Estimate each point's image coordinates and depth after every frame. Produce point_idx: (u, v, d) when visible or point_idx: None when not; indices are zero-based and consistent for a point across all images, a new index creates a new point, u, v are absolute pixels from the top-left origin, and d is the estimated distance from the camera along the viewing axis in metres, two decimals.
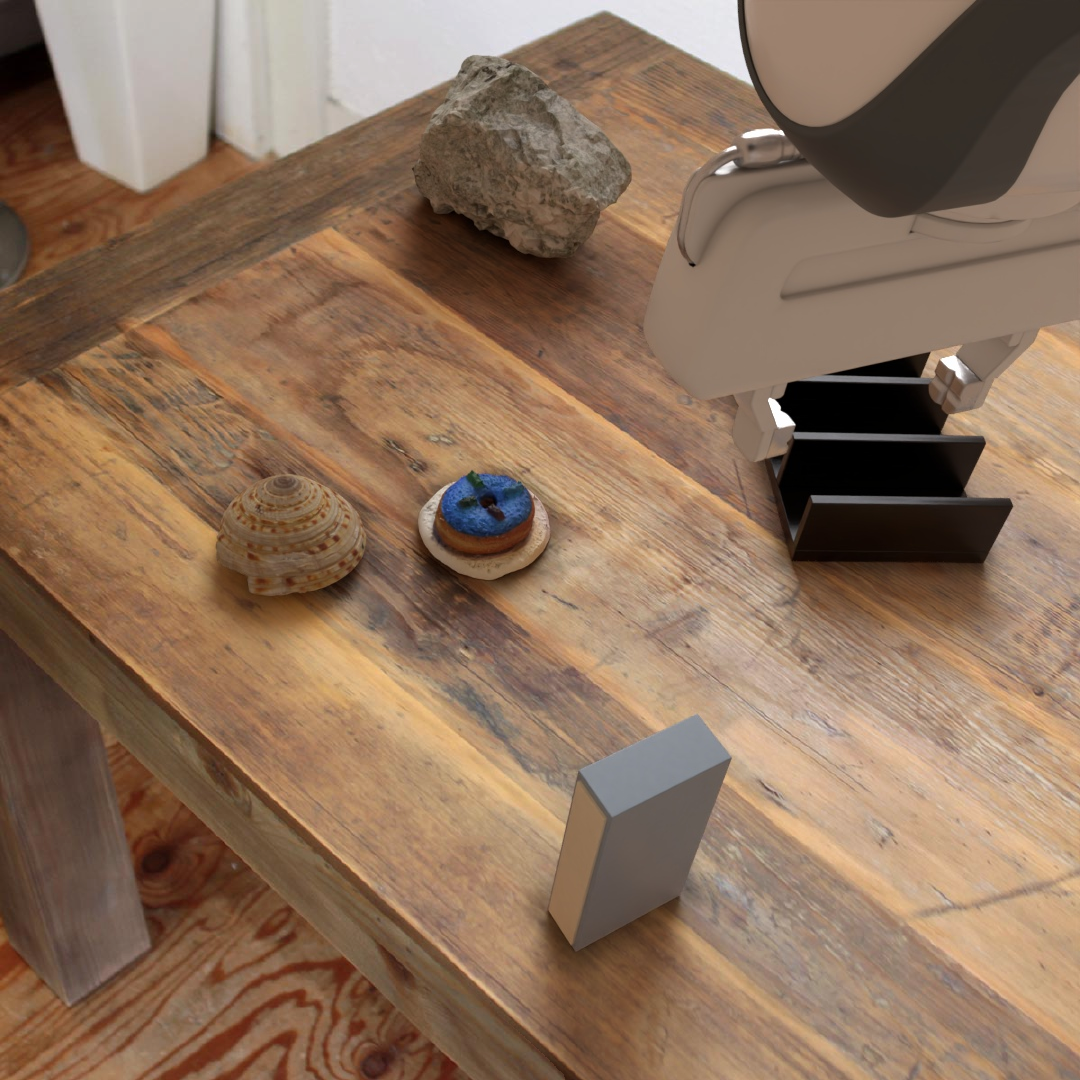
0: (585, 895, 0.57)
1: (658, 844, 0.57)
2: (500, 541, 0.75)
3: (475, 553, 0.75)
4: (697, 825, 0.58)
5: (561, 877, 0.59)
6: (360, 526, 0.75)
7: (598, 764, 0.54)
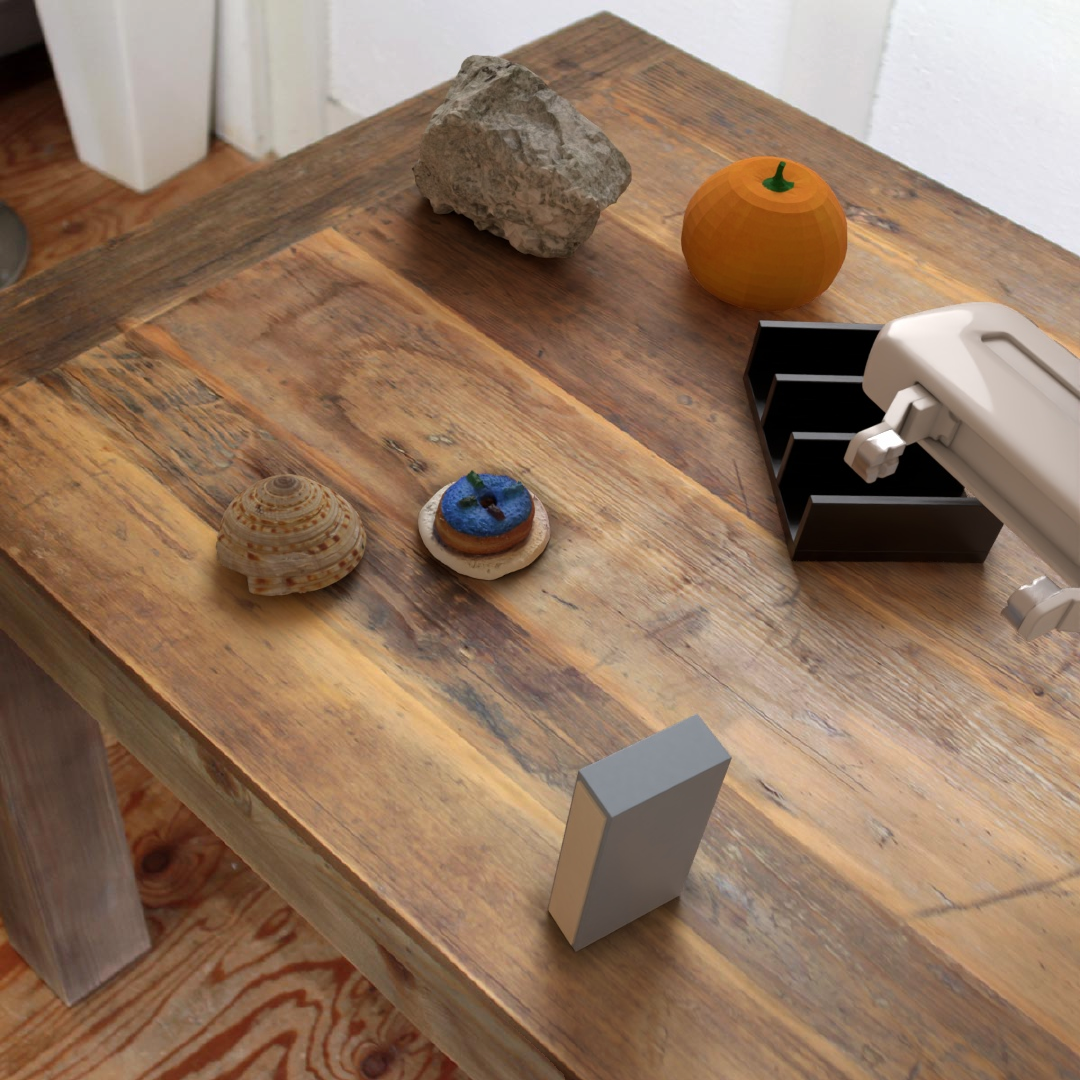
0: (585, 895, 0.57)
1: (658, 844, 0.57)
2: (500, 541, 0.75)
3: (475, 553, 0.75)
4: (697, 825, 0.58)
5: (561, 877, 0.59)
6: (360, 526, 0.75)
7: (598, 764, 0.54)
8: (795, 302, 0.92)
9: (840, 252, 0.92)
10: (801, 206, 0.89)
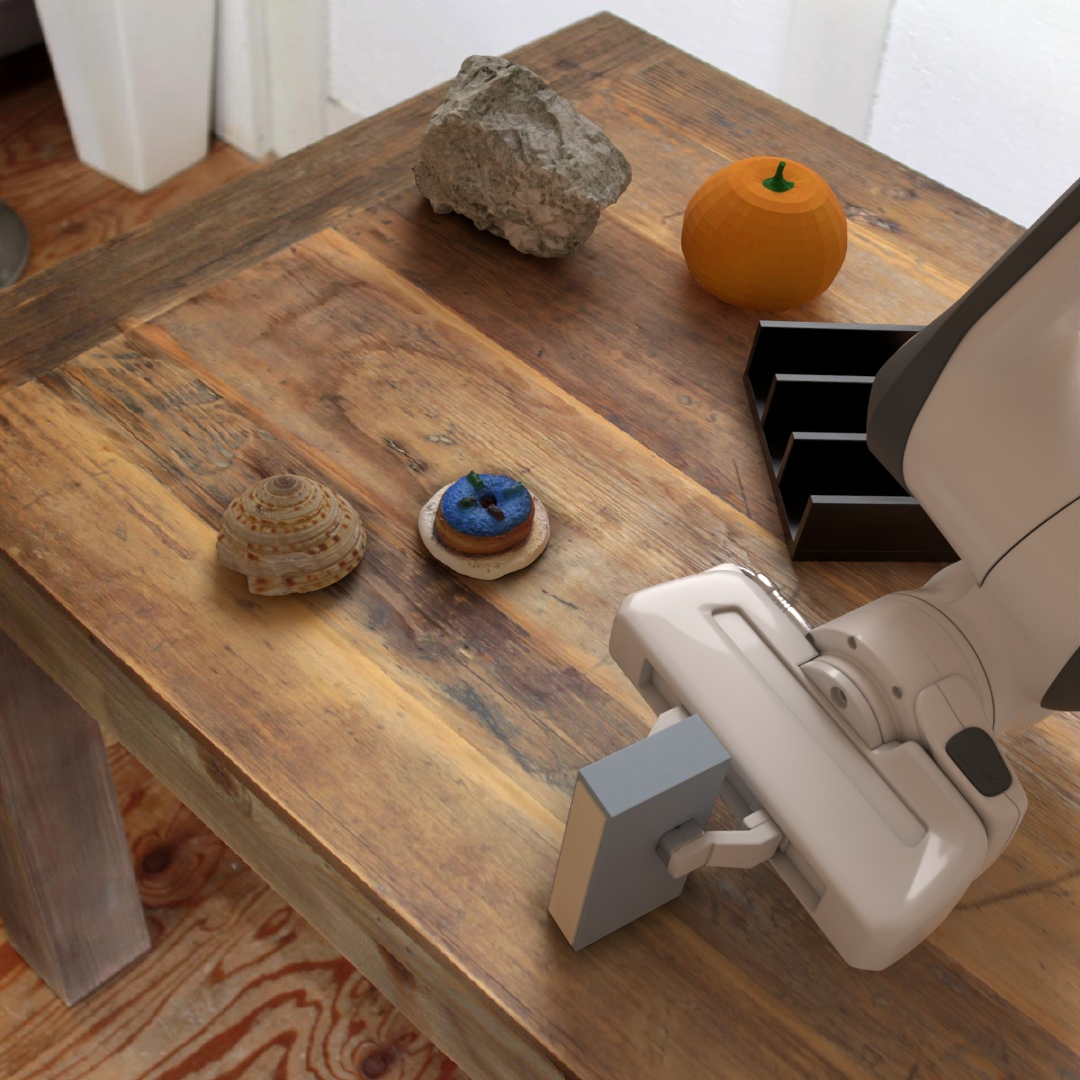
0: (585, 895, 0.57)
1: None
2: (500, 541, 0.75)
3: (475, 553, 0.75)
4: None
5: (561, 877, 0.59)
6: (360, 526, 0.75)
7: (598, 764, 0.54)
8: (795, 302, 0.92)
9: (840, 252, 0.92)
10: (801, 206, 0.89)
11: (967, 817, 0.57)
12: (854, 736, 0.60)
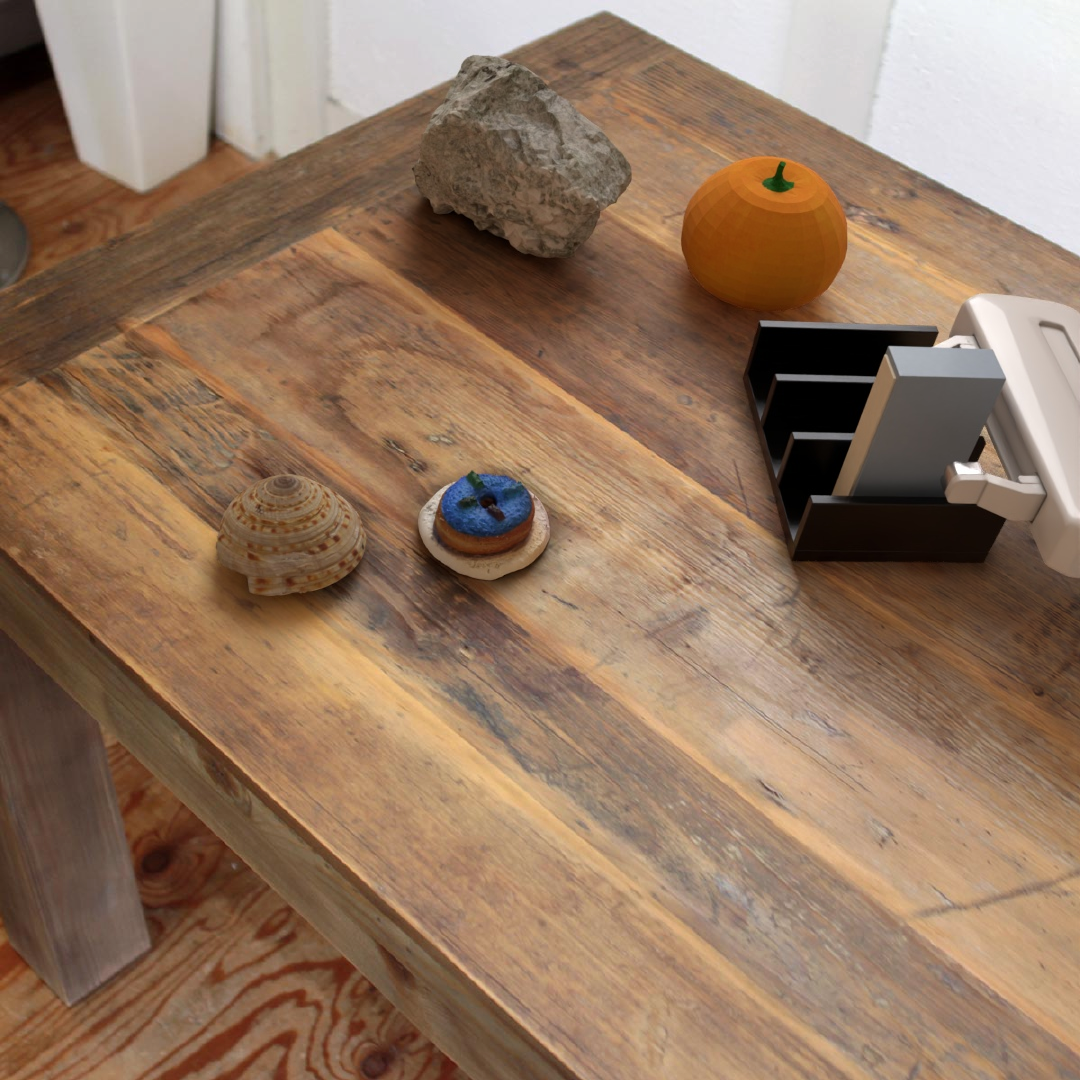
0: (861, 463, 0.76)
1: (929, 443, 0.75)
2: (500, 542, 0.75)
3: (475, 553, 0.75)
4: (964, 444, 0.75)
5: (849, 456, 0.78)
6: (360, 526, 0.75)
7: (904, 348, 0.73)
8: (795, 302, 0.92)
9: (840, 252, 0.92)
10: (801, 206, 0.89)
11: None
12: None
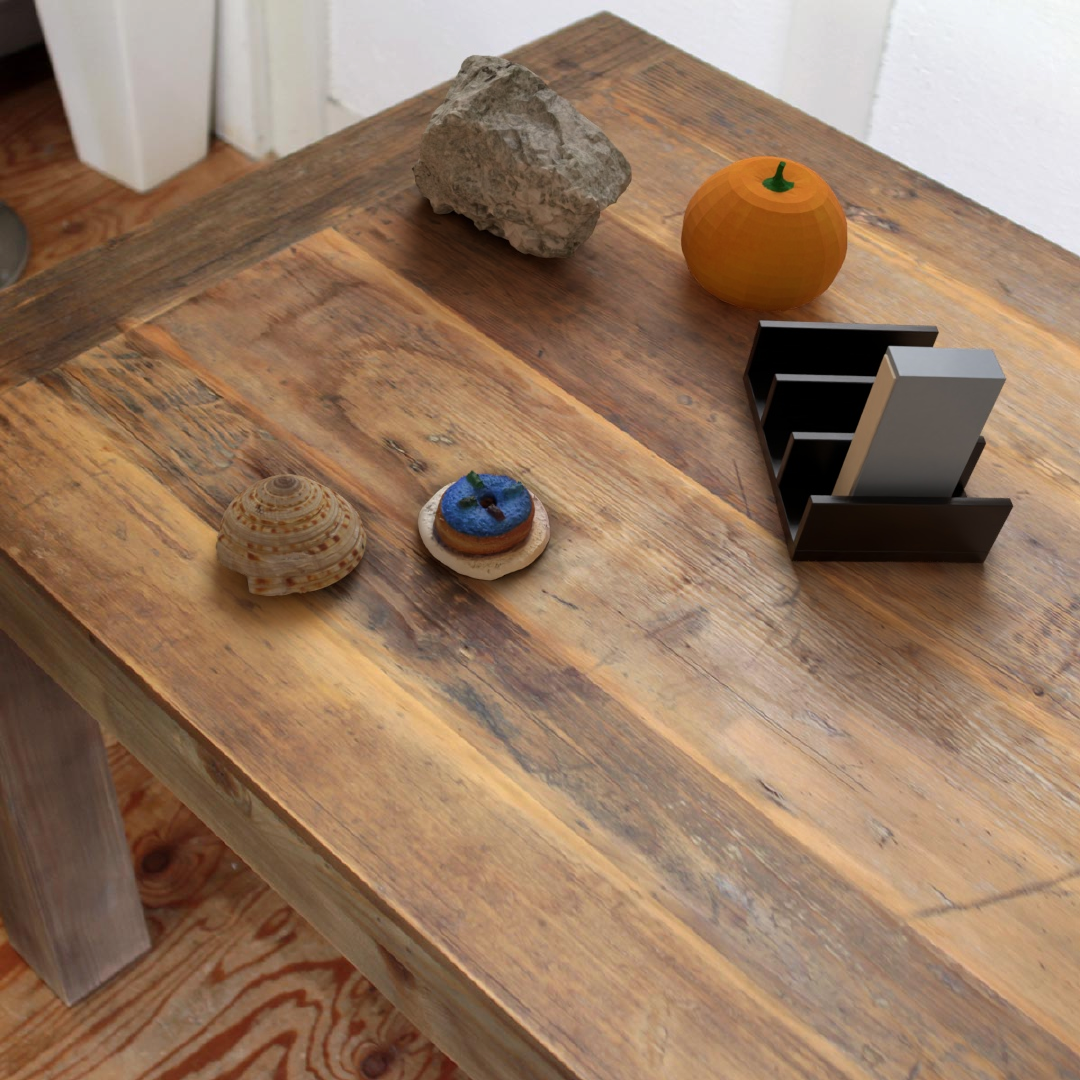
0: (861, 463, 0.76)
1: (929, 443, 0.75)
2: (500, 542, 0.75)
3: (475, 553, 0.75)
4: (964, 444, 0.75)
5: (849, 456, 0.78)
6: (360, 526, 0.75)
7: (904, 348, 0.73)
8: (795, 302, 0.92)
9: (840, 252, 0.92)
10: (801, 206, 0.89)
11: None
12: None
